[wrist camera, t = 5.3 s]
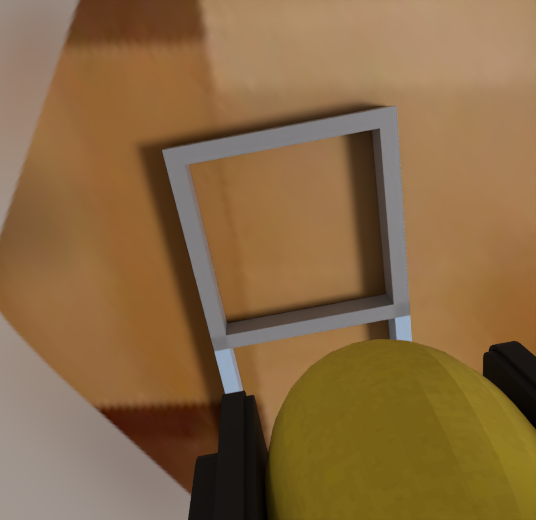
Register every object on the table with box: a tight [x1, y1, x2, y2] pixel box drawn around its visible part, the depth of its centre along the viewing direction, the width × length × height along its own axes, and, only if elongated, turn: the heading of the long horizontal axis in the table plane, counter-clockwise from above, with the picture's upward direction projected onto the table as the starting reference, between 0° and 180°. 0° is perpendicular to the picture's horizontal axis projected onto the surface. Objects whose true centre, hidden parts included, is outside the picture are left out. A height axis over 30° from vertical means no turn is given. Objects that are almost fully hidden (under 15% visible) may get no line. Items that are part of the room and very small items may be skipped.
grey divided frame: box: [162, 106, 412, 394], centre depth 28 cm, size 25×13×2 cm, turn 10°
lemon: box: [265, 339, 536, 520], centre depth 8 cm, size 6×6×8 cm
